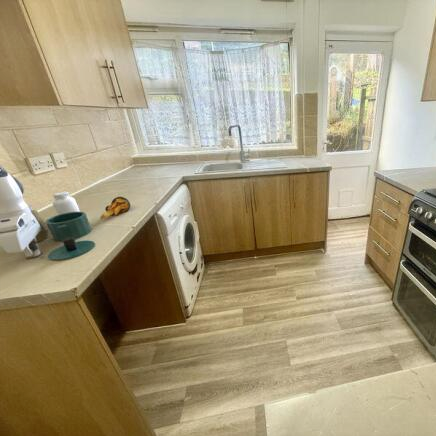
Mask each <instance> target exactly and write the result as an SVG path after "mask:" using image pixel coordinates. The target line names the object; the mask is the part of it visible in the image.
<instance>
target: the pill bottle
mask: <svg viewBox="0 0 436 436" xmlns="http://www.w3.org/2000/svg"><path fill="white" fill-rule="evenodd" d="M52 197H53V199H54V200H53V201H52V206H53V208H54V210H55V212H56V215H60V214H64V213H69V212H81V210H80V208H79V206H78V204H77V202H76V199H75V198H74V197H72V196H70V194H69V192H68V191H59V192H56V193H53V194H52Z"/></svg>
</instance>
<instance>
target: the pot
mask: <svg viewBox="0 0 436 436" xmlns="http://www.w3.org/2000/svg"><path fill="white" fill-rule="evenodd" d="M45 223H46V224H47V226H48V228H49V234H50V235H51V237H52V239H53V240H54V242H57V243H63V241H62V240H63V239H64V238H67V237H73V238H74V240H77V238H78V239H81V238H83V237H85V236H87V235H88V234H90V233H91V232H92V227H91V223H90V221H89V219H88V217H87V214H86V213H85V212H84V211H80V212H69V213H64V214H60V215H58V214H56V215H55V216H52V217H50V218H48V219H47V220H46V221H45Z"/></svg>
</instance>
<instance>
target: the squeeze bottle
mask: <svg viewBox="0 0 436 436" xmlns="http://www.w3.org/2000/svg"><path fill="white" fill-rule="evenodd" d="M28 206H29V209H30V211H31V213H32V215H34V216H35V218H36V220H37V221H38V223H39V225H40V227H41V231H40V232H39V233H38V234H37V235H36V236H35V237H36V241H37V243H38V242H41V241H45V240H46V239H48V238H49V237H50V231H49V228H48V226H47V224H46V221H45V220H44V219H43V217H42V216H41V214H40V213H39V211H37V210H35V209H33V207H32V205H28Z"/></svg>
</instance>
